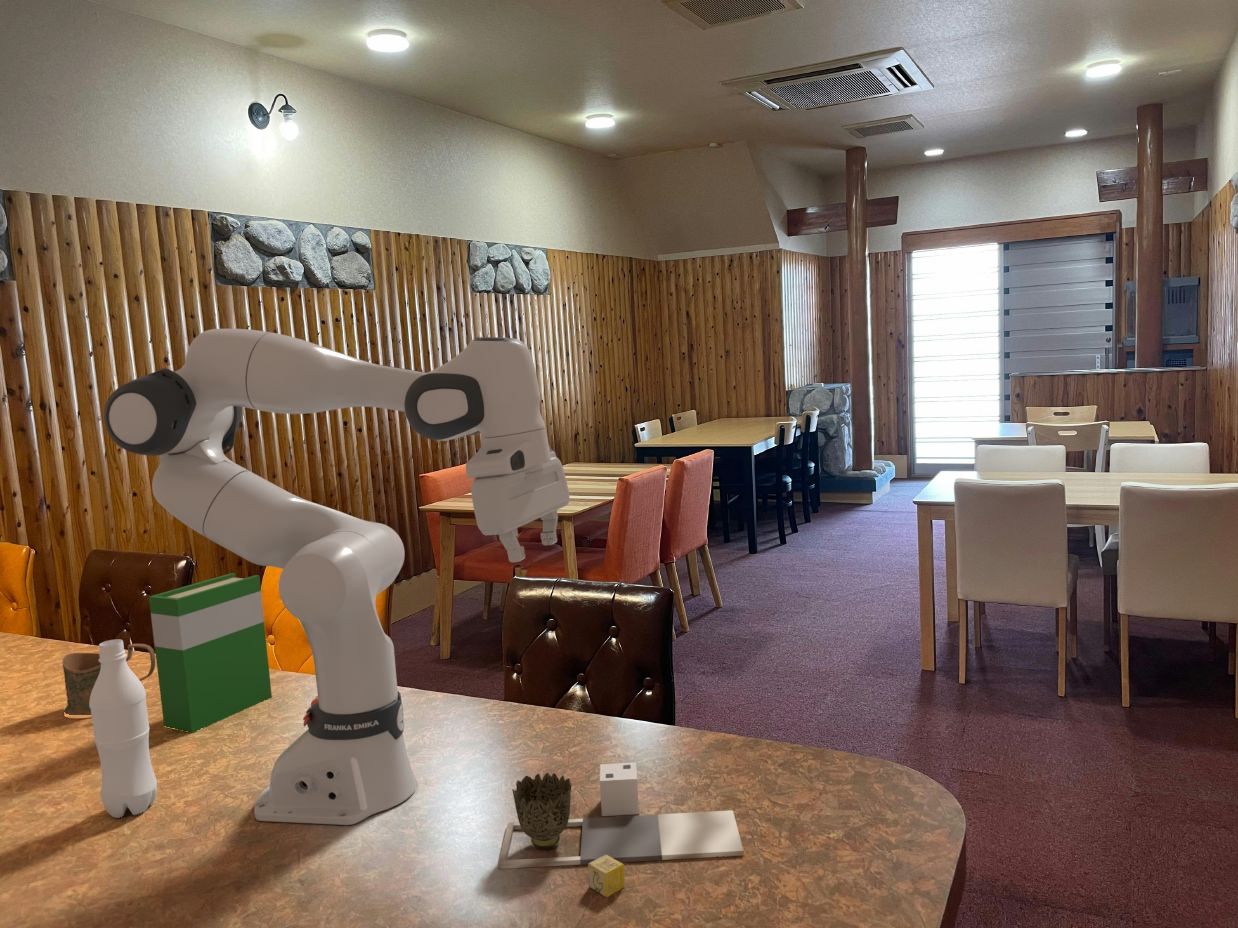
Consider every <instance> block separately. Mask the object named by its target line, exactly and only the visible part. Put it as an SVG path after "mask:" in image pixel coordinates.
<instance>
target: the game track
mask: <svg viewBox="0 0 1238 928" xmlns="http://www.w3.org/2000/svg"><path fill="white" fill-rule="evenodd" d="M571 827H582V828H581V842H580V856H579V855H578V856H562V857H560V856H559V857H542V858H540V857H539V858H526V859H525V858H524V859H522V858H521V859H509V858H508V857H509V853H510V848H511V844H512V839H513V833H514V830H516V831H517V830H522V828H521V826H520V823H519V821H516V822H515V821H514V822H507V825H506V828H505V829H506V830H505V835H504V838H503V842H502V843H503V844H502V847H501V850H500V856H499V859H498V870H502V869H503V870H504V869H505V870H506V869H521V868H522V869H523V868H525V869H526V868H538V867H539V868H540V867H542V868H543V867H557V866H574V865H588V863H590V862H592V861H594V860H596V859H598V858H600V857H602V856H604V855H608V856H610V857H611V858H613V859H615V860H617V861H619V862H620V863H630V862H631V863H632V862H647V861H650V862H651V861H665V860H667V861H670V860H683V859H701V858H702V859H703V858H722V857H723V856H724V857H737V856H739V857H741V856H744V851H745V850H744V847H743V844H742V839H741V836H740V834H739V833H740V832H739V829H738V825H737V821H736V817H735V812H734V810H732V809H731V810H729V809H728V810H714V811H697V812H678V813H677V812H676V813H663V814H662V813H660V814H642V815H641V814H640V815H639V814H638V815H620V816H602V817H589V818H588V817H587V818H585V817H584V818H569V820H568V823H567V826H566V828H571ZM717 856H718V857H717ZM724 857H723V858H724Z"/></svg>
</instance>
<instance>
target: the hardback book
mask: <svg viewBox="0 0 1238 928" xmlns="http://www.w3.org/2000/svg"><path fill="white" fill-rule="evenodd" d="M262 597H263V596H262V590H261V578H260V575H257V574H255V575H251V576H248V577H245V578H242V577H241V578H240V577H237V576H236V573H235V572H234V573H233V572H231V573H227V574H224V575H221V576H218V577H217V576H216V577H214V578H210V579H207V580H206V579H205V580H202V581H199V582H195V583H192V584H189V585H185V586H182V587H181V586H180V587H179V588H175V589H171V590H168V591H164V592H160V593H157V594H153V595H151V596H148V602H149V610H150V618H151V619H150V620H151V625H152V628H151V629H152V636H153V643H154V644H153V645H154V653H155V662H156V669H157V677H158V686H159V692H160V693H159V695H160V703H161V704H160V705H161V710H162V712H161V713H162V719H163V726H166V727H170V728H175V729H178V730H177V731H179V730H183V731H182V732H184V731H188V732H191V733H190V734H194V733H196V732H198V731H197V730H199V731H201V730H202V729H201V728H203V729H205V728H208V727H209V725H210V726H211V725H214V724H216V723H218V721H219V722H220V721H223V720H225V719H227V718H230V717H232V716H234V715H236V714H238V713H241V712H243V711H245V710H247V709H250V708H251V707H254V706H256V705H258V703H259V704H260V702H261V703H263V702H265V701H267V700H269V698H270V699H272V698H273V696H272V686H271V684H272V683H271V676H270V675H271V674H270V666H269V657H268V645H267V639H266V628H265V618H264V608H263V607H264V606H263V599H262ZM271 697H272V698H271ZM264 700H265V701H264ZM249 707H250V708H249ZM244 709H245V710H244ZM229 716H230V717H229ZM213 723H214V724H213ZM204 727H205V728H204ZM200 729H201V730H200ZM195 731H196V732H195ZM188 732H187V733H188ZM193 732H194V733H193Z"/></svg>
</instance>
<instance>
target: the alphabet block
mask: <svg viewBox="0 0 1238 928" xmlns="http://www.w3.org/2000/svg"><path fill="white" fill-rule="evenodd" d="M587 870H588V871H587V872H588V873H587V874H588V876H587V877H588V887H589V888H591V889H592V890H594V891H595V892H597V893H599V894H601V895H602V896H603V897H605V898H608V897H610V896H612V895H614V894H615V893H617V892H618V891H620V890H622V889H623V888H625V864H624V863H623V862H619V861H617V860H615V859H613V858H611V857H610V856H608V855H604V856H602V857H600V858H598V859H596V860H594V861H592V862H590V863H588V864H587Z"/></svg>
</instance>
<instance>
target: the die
mask: <svg viewBox="0 0 1238 928" xmlns="http://www.w3.org/2000/svg"><path fill="white" fill-rule="evenodd" d="M599 789H600V803H601V804H600V805H601V816H602V817H615V816H633V815H639V814H640V809H639V792H638V791H639V789H638V771H637V762H636V761H635V762H621V763H619V762H618V763H602V764H601V763H600V767H599Z"/></svg>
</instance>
